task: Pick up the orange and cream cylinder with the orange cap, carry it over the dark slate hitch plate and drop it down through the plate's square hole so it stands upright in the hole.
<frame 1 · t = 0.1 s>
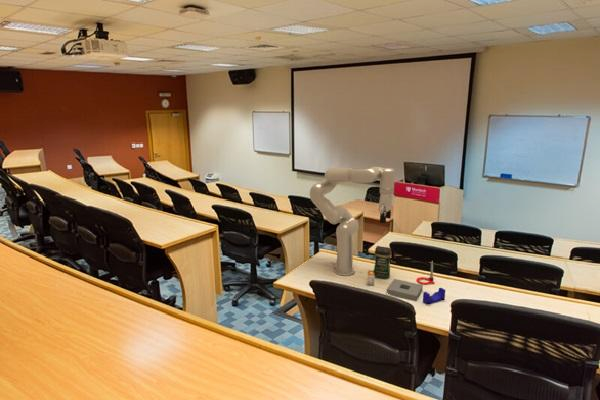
hand: (385, 220, 209), 37 cm above the table, tool pointing down, fingers open, 9 cm apart
coffee jar: (381, 276, 223), on the table
orange and cream cylinder: (370, 284, 213), on the table
hitch plate: (404, 291, 204), on the table
cable clip: (432, 301, 195), on the table
tow hook: (424, 282, 216), on the table
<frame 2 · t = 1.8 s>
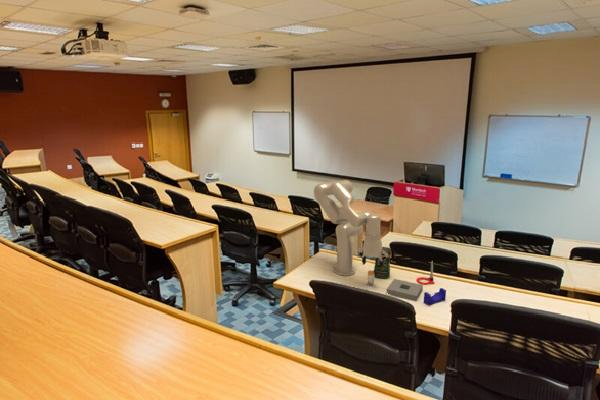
hand: (372, 265, 209), 12 cm above the table, tool pointing down, fingers open, 9 cm apart
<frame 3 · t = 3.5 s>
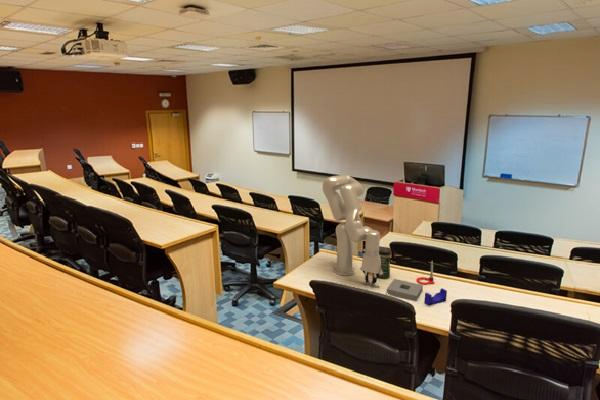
hand: (370, 282, 212), 2 cm above the table, tool pointing down, fingers closed on orange and cream cylinder, 3 cm apart
orange and cream cylinder: (370, 284, 213), on the table, touching gripper
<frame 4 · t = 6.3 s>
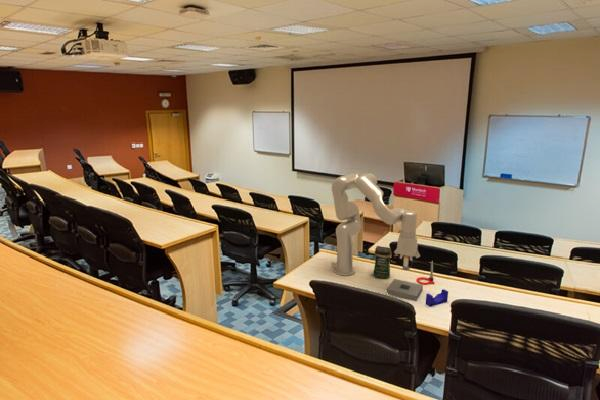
hand: (406, 265, 200), 15 cm above the table, tool pointing down, fingers closed on orange and cream cylinder, 3 cm apart
orange and cream cylinder: (405, 268, 201), point 14 cm above the table, touching gripper
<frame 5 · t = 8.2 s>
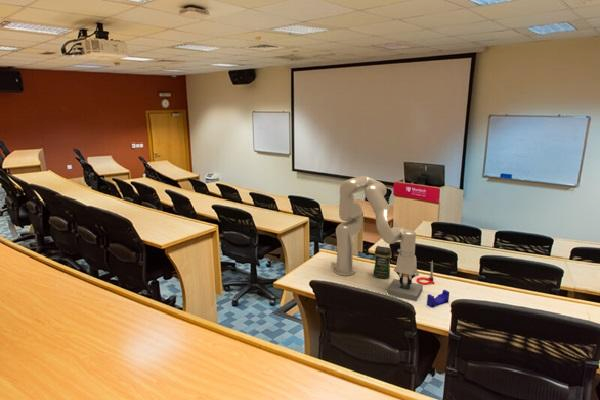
hand: (405, 284, 203), 5 cm above the table, tool pointing down, fingers closed on orange and cream cylinder, 3 cm apart
orange and cream cylinder: (405, 286, 203), point 3 cm above the table, touching gripper
when the fingers open (4 cm above the table, at t = 9.6 s): orange and cream cylinder drops 2 cm, resting in hitch plate.
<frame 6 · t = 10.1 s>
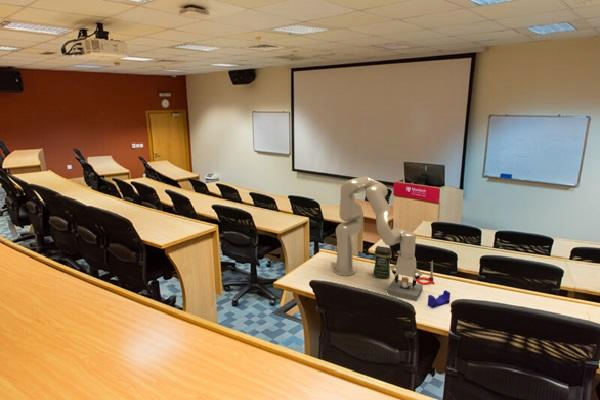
hand: (405, 284, 203), 5 cm above the table, tool pointing down, fingers open, 8 cm apart
orange and cream cylinder: (404, 291, 204), resting in hitch plate
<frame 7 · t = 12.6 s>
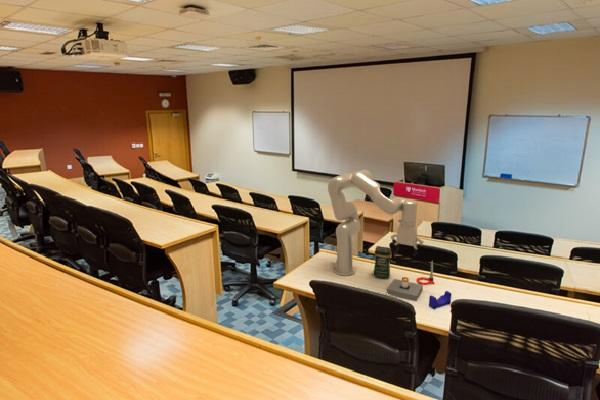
hand: (405, 253, 202), 21 cm above the table, tool pointing down, fingers open, 9 cm apart
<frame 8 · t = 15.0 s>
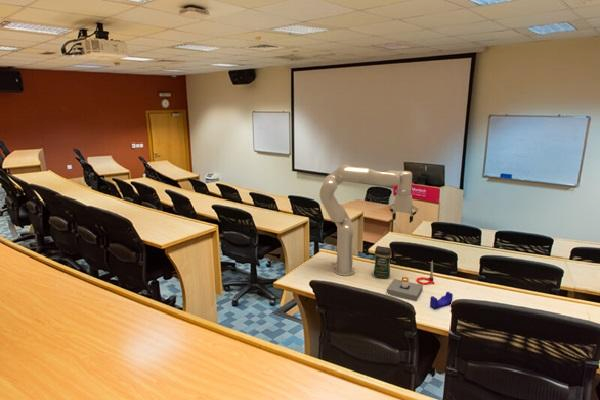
hand: (402, 220, 219), 33 cm above the table, tool pointing down, fingers open, 9 cm apart
at the end: orange and cream cylinder 0.1 cm off-centre on the hitch plate, point 0.0 cm above the hitch plate's base; orange and cream cylinder tilted 0°; the gripper is holding nothing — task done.
